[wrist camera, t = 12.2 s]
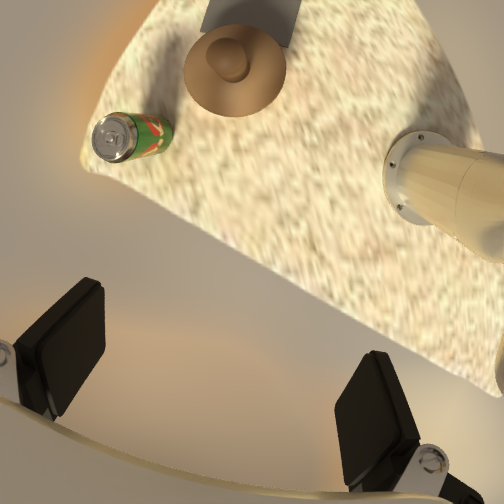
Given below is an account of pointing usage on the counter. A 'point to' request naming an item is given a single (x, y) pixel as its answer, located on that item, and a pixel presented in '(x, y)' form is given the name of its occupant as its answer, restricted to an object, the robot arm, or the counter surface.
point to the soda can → (130, 136)
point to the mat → (254, 16)
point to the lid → (235, 70)
